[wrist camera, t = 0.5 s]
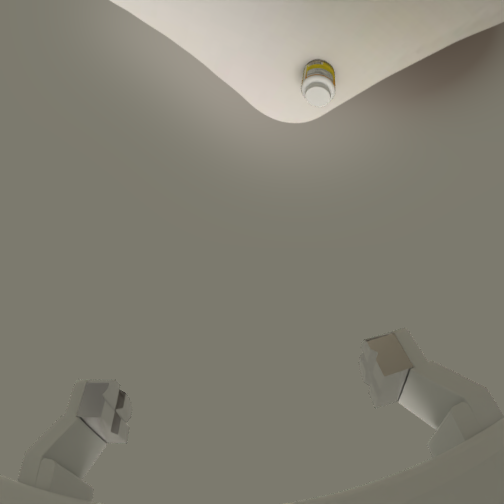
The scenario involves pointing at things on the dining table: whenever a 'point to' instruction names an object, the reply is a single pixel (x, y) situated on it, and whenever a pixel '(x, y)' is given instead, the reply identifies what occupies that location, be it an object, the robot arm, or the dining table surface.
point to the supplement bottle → (318, 83)
